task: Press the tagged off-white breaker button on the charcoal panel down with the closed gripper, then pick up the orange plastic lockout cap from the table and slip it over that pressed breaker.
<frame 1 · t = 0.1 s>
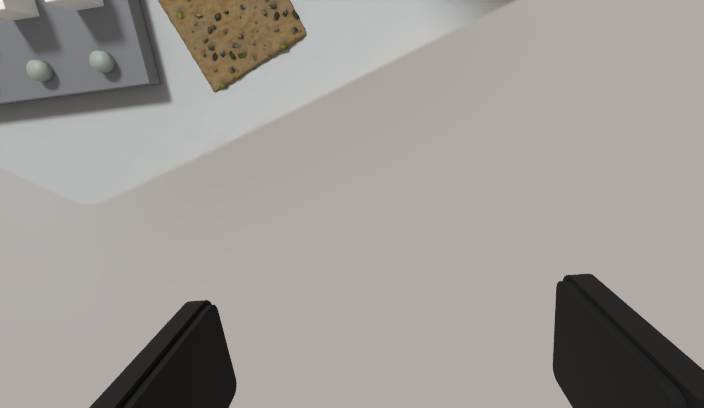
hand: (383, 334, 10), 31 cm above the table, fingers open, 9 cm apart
seeded cracker: (230, 11, 37), on the table
breaker panel: (39, 6, 38), on the table
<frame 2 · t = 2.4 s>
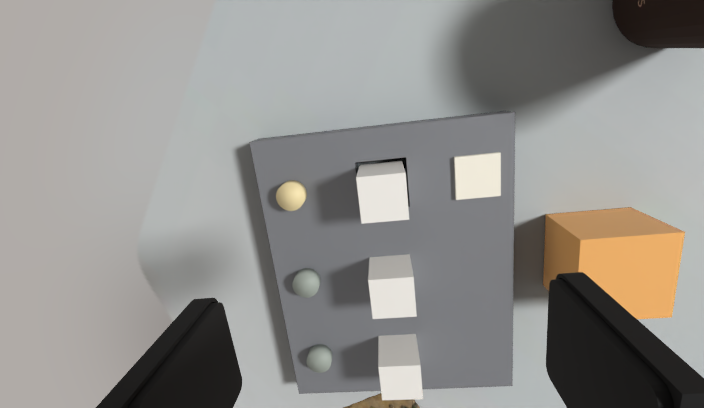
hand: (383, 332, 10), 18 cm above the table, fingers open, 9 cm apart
lockout cap: (585, 247, 28), on the table
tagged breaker: (382, 190, 24), point 3 cm above the table, slide at 0.0 cm
breaker panel: (390, 262, 29), on the table
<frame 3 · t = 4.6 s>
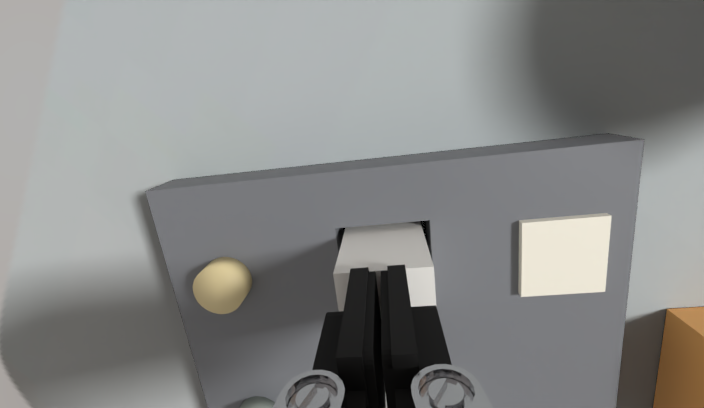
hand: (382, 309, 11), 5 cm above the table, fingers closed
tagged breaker: (386, 282, 13), point 3 cm above the table, slide at 0.3 cm, touching gripper
breaker panel: (398, 375, 18), on the table
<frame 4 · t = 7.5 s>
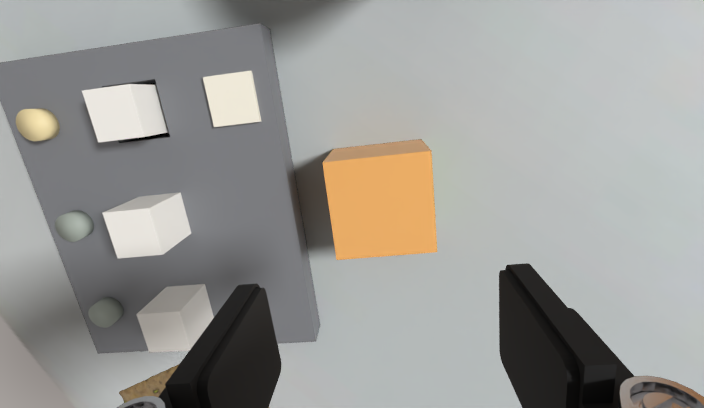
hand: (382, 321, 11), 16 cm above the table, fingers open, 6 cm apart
lockout cap: (380, 186, 25), on the table
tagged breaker: (135, 112, 23), point 2 cm above the table, slide at 1.4 cm
breaker panel: (180, 206, 27), on the table
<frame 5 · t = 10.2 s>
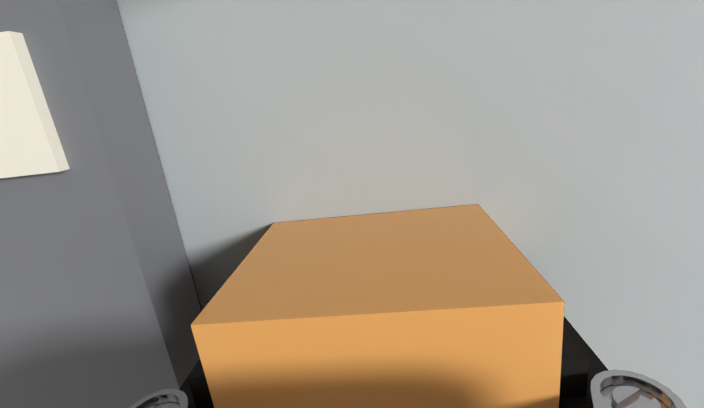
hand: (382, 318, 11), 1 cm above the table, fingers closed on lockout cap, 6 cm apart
lockout cap: (382, 303, 11), on the table, touching gripper
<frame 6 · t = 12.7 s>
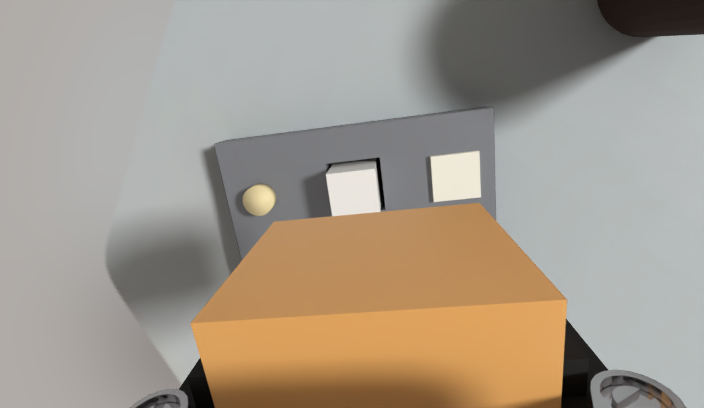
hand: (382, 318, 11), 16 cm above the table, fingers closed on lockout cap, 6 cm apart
lockout cap: (383, 302, 11), point 15 cm above the table, touching gripper
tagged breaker: (355, 187, 24), point 2 cm above the table, slide at 1.4 cm
breaker panel: (369, 268, 28), on the table
when the fingers open (4 cm above the table, at t = 15.5 s): lockout cap drops 1 cm, resting on breaker panel.
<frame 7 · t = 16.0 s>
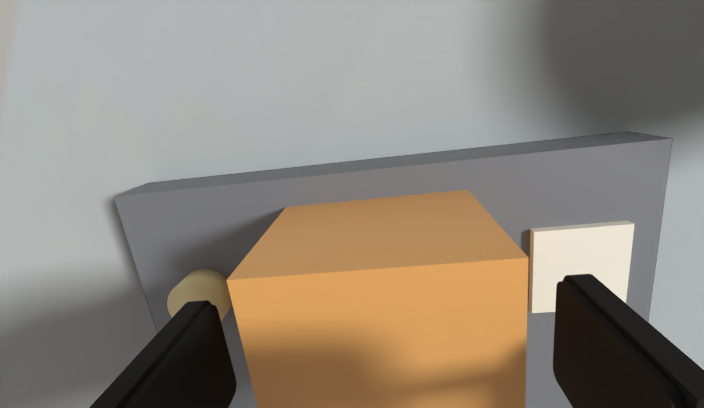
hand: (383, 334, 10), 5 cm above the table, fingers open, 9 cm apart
lockout cap: (383, 279, 13), point 2 cm above the table, touching breaker panel
breaker panel: (396, 393, 17), on the table
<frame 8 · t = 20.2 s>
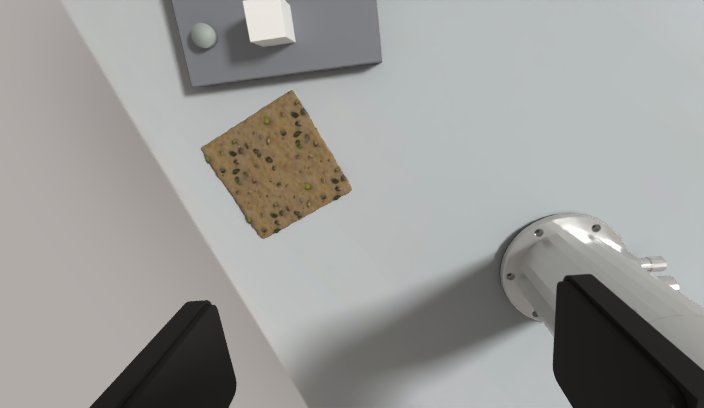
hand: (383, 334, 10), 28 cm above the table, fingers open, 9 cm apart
seeded cracker: (278, 167, 39), on the table
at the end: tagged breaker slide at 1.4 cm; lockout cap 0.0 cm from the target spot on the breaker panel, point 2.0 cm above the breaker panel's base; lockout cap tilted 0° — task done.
